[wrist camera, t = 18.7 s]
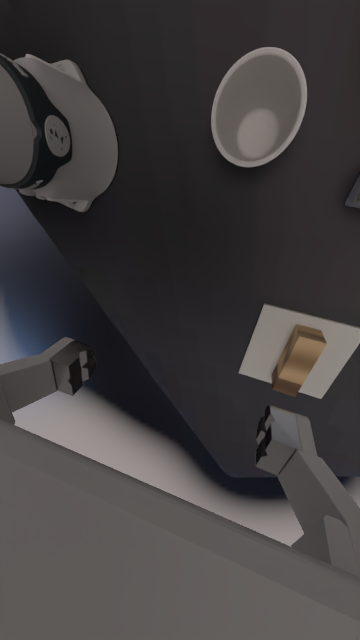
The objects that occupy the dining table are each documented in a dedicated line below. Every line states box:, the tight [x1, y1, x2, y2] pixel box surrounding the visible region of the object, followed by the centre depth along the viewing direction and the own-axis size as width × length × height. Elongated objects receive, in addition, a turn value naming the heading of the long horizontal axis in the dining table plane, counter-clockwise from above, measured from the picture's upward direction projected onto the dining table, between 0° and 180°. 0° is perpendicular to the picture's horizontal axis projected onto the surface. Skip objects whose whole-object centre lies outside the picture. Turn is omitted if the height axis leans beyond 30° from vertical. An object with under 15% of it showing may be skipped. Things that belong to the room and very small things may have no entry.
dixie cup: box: [211, 47, 307, 167], centre depth 25 cm, size 8×8×10 cm
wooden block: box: [271, 324, 327, 397], centre depth 40 cm, size 12×4×4 cm, turn 171°
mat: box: [239, 303, 360, 399], centre depth 42 cm, size 16×16×1 cm
